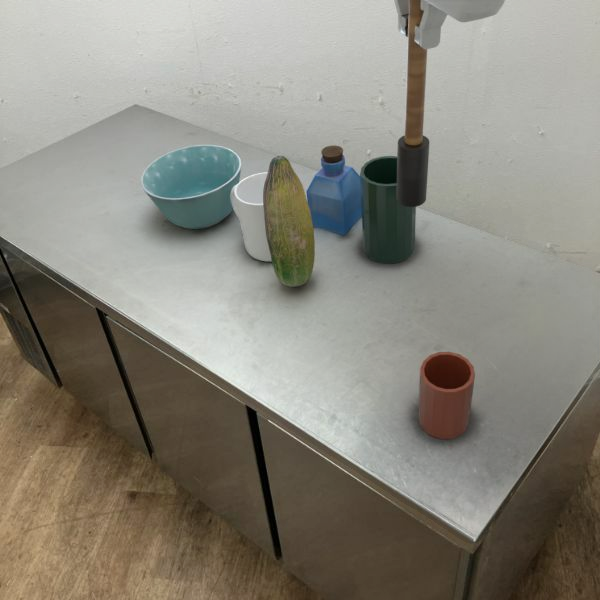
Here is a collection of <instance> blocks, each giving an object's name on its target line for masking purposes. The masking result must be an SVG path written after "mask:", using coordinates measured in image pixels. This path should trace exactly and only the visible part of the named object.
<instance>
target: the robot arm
mask: <svg viewBox="0 0 600 600" xmlns="http://www.w3.org/2000/svg"><path fill="white" fill-rule="evenodd" d="M393 1H394V5H395V9H396V12H397V30H398V32H399V33H400V34H402V35H403V36H404V37H406V38H408V14H409V0H393ZM505 2H506V0H421V10H423V11H424V13H423V16H422V20H421V23H420V24H417V25H415V38H414V41H415V43H416V44H418V45H419V46H420V47H422V48H423V49H425V50H426V49H427V50H430V49H433V48H434V49H435V48H437V47H438V46H439V45H440V44H441V32H442V26H443V25H444V23H445V21H446V19H447V17H448V16H449V17H450V18H452V19H455V20H456V21H458V22H460V23H470V22H473V21H478V20H482V19H486V18H490V17H493V16H495V15H497V14H498V13H499V12H500V10H501V9H502V7H503V6H504V4H505Z"/></svg>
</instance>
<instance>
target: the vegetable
mask: <svg viewBox="0 0 600 600" xmlns="http://www.w3.org/2000/svg"><path fill="white" fill-rule="evenodd" d="M269 162H270V163H269V165H268V170H267V172H268V174H267V177H266V180H265V184H264V189H263V206H264V219H265V230H266V237H267V242H268V246H269V250H270V255H271V260H272V261H271V264H272V267H273V272H274V273H275V276H276V277H277V280H278V281H279V282H280V283H282V284H283V285H285V286H287V287H290V288H291V287H292V288H293V287H300V286H302V285H305V283H307V282H308V281H309V279H310V277H311V275H312V273H313V272H314V271H313V269H314V266H315V256H316V242H315V241H316V239H315V230H314V226H313V223H312V219H311V213H310V209H309V206H308V202H307V195H306V193H305V189H304V186H303V184H302V182H301V179H300V178H299V176H298V175H297V173H296V171H294V168H293V167H292V165H291V163H290V160H289V159H288V158H286V157H285V156H284V155H276V156H273V158H272V159H271V161H269Z"/></svg>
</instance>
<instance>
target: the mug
mask: <svg viewBox="0 0 600 600" xmlns="http://www.w3.org/2000/svg"><path fill="white" fill-rule="evenodd" d="M267 174H268V171H266V172H265V171H264V172H258V173H254V174H251V175H249V176H246V177H245V178H243V179H241V180H239V183H238V184H237V185H235V186H234V187H233V188H232V190H231V193H230V199H231V204H232V207H233V209H232V211H233V212H234V214H235V216H237V218H238V220H239V223H240V228H241V233H242V234H241V235H242V239H243V244H244V247H245V250H246V252H247V254H248V255H249V256H250V257H252V258H253V259H255V260H258V261H262V262H272V260H271V255H270V250H269V246H268V242H267V237H266V230H265V219H264V206H263V189H264V184H265V180H266V177H267Z"/></svg>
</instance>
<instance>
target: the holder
mask: <svg viewBox="0 0 600 600" xmlns="http://www.w3.org/2000/svg"><path fill="white" fill-rule="evenodd" d="M475 378H476V372H475V367H474V365H473V364H472V362H471V361H470V360H469V359H468V358H466V357H464V356H463V355H462V354H460V353H456V352H453V351H438V352H435V353H433V354H429V355H428V356H427V357H426V358H425V359H423V361H422V362H421V365H420V367H419V388H418V409H417V410H418V422H419V425H420V427H421V428H422V431H424V432H425V433H426V434H428V435H429V436H431V437H434V438H435V439H440V440H451V439H455V438H458V437H459V436H461V435H463V433H464V432H466V430H467V428H468V426H469V422H470V417H471V409H472V403H473V395H474V387H475V380H476V379H475Z"/></svg>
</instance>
